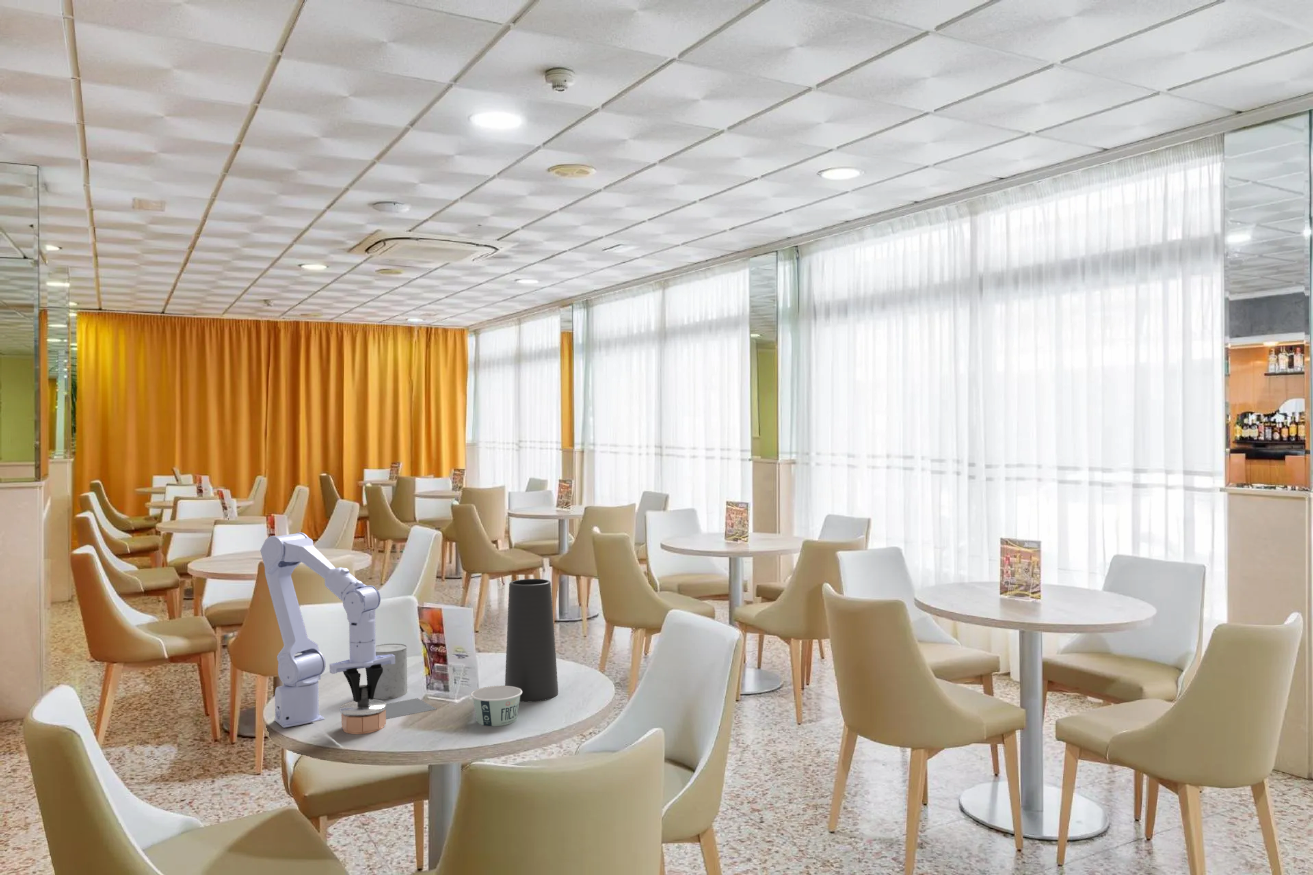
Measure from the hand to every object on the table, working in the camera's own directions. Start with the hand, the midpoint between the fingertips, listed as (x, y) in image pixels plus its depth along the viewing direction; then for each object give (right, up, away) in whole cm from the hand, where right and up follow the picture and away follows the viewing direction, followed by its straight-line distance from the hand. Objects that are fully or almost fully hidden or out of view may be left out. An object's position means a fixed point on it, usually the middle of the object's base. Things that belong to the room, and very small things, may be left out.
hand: (363, 699), depth 214 cm
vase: (+35, -6, +27) cm, 45 cm away
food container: (+29, -7, +6) cm, 31 cm away
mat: (+4, -7, +14) cm, 16 cm away
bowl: (0, -7, 0) cm, 7 cm away
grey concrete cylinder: (-2, -7, +28) cm, 29 cm away
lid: (0, -2, 0) cm, 2 cm away
